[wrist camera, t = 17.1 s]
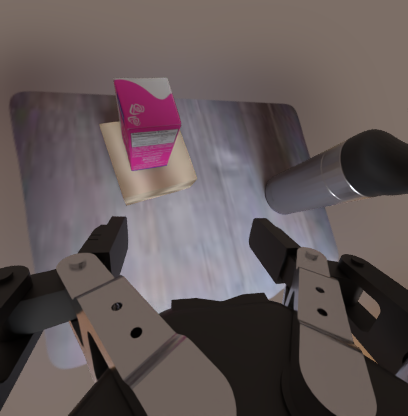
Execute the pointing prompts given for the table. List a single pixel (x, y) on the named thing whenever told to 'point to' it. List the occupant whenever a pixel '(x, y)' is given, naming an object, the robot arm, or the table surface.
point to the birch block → (148, 178)
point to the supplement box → (147, 120)
